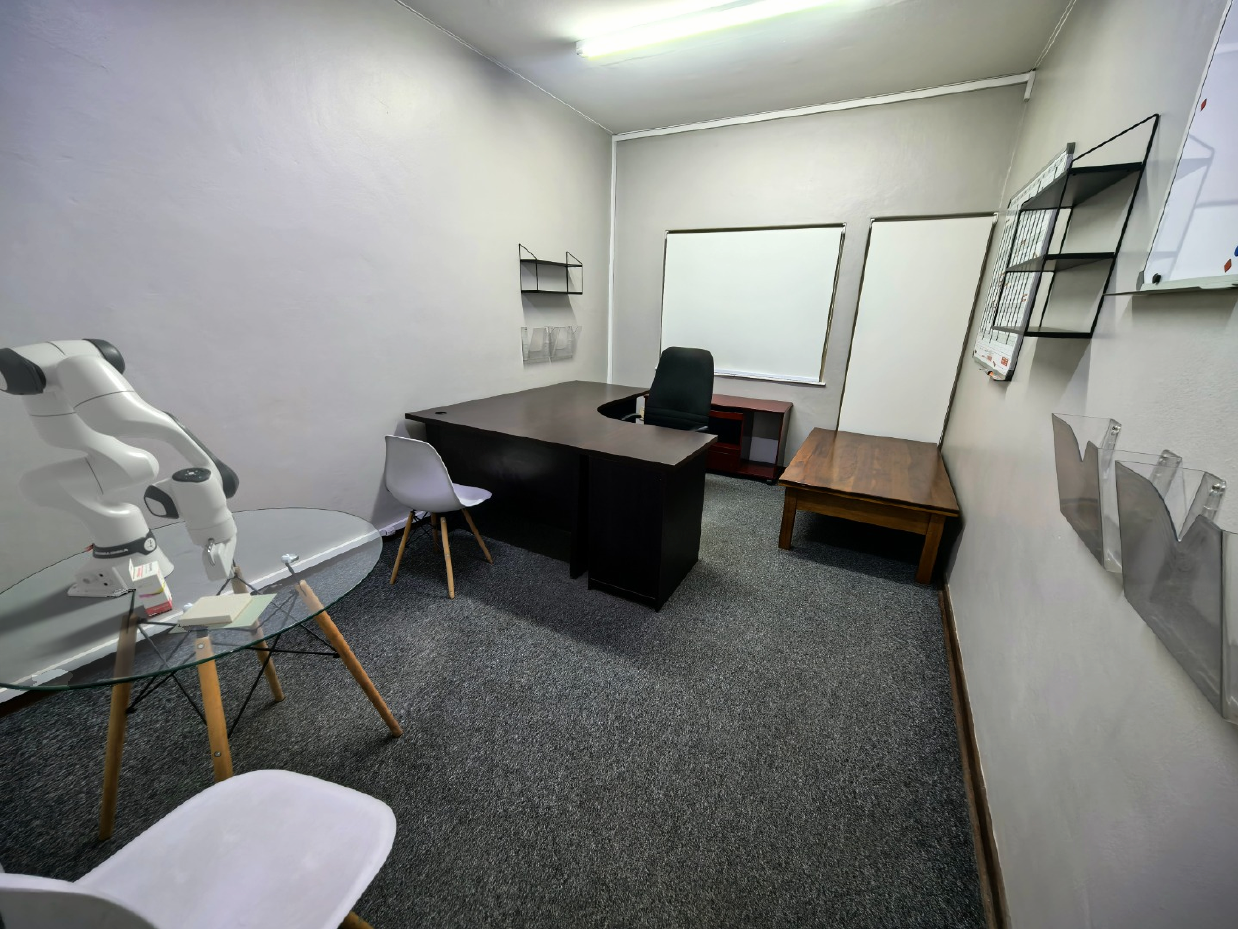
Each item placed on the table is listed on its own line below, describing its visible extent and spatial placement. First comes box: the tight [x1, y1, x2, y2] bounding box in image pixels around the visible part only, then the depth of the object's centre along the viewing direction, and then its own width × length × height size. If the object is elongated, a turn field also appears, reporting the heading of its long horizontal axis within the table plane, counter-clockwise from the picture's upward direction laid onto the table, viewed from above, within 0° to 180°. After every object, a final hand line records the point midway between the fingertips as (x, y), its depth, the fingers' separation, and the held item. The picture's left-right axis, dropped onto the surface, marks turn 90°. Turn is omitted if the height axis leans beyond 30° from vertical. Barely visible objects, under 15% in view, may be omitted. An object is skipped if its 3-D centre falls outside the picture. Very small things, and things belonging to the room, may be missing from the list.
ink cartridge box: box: [129, 559, 173, 616], centre depth 122 cm, size 9×5×15 cm, turn 45°
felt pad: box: [168, 593, 278, 634], centre depth 122 cm, size 19×13×1 cm
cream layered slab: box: [177, 592, 252, 627], centre depth 122 cm, size 2×9×12 cm
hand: (230, 575), depth 119 cm, fingers closed
